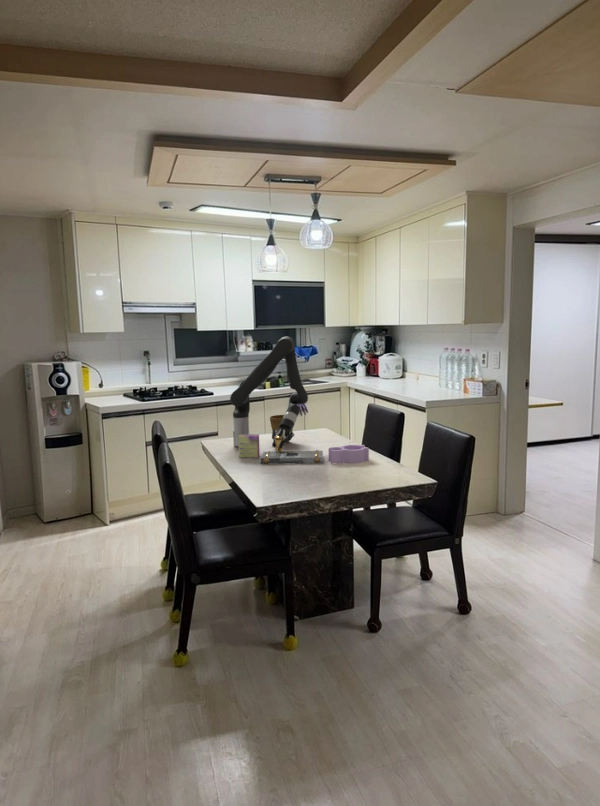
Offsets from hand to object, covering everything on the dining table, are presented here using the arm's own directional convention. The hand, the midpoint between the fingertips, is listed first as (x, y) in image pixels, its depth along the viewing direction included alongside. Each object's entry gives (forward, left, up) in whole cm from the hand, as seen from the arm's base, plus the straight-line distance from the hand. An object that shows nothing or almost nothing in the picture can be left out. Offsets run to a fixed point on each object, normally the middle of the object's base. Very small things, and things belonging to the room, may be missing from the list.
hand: (276, 447), depth 282 cm
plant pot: (+1, +30, -5) cm, 30 cm away
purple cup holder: (+38, -13, -5) cm, 41 cm away
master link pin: (+1, +2, -5) cm, 5 cm away
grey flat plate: (+9, -10, -5) cm, 14 cm away
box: (-15, -1, -5) cm, 16 cm away
